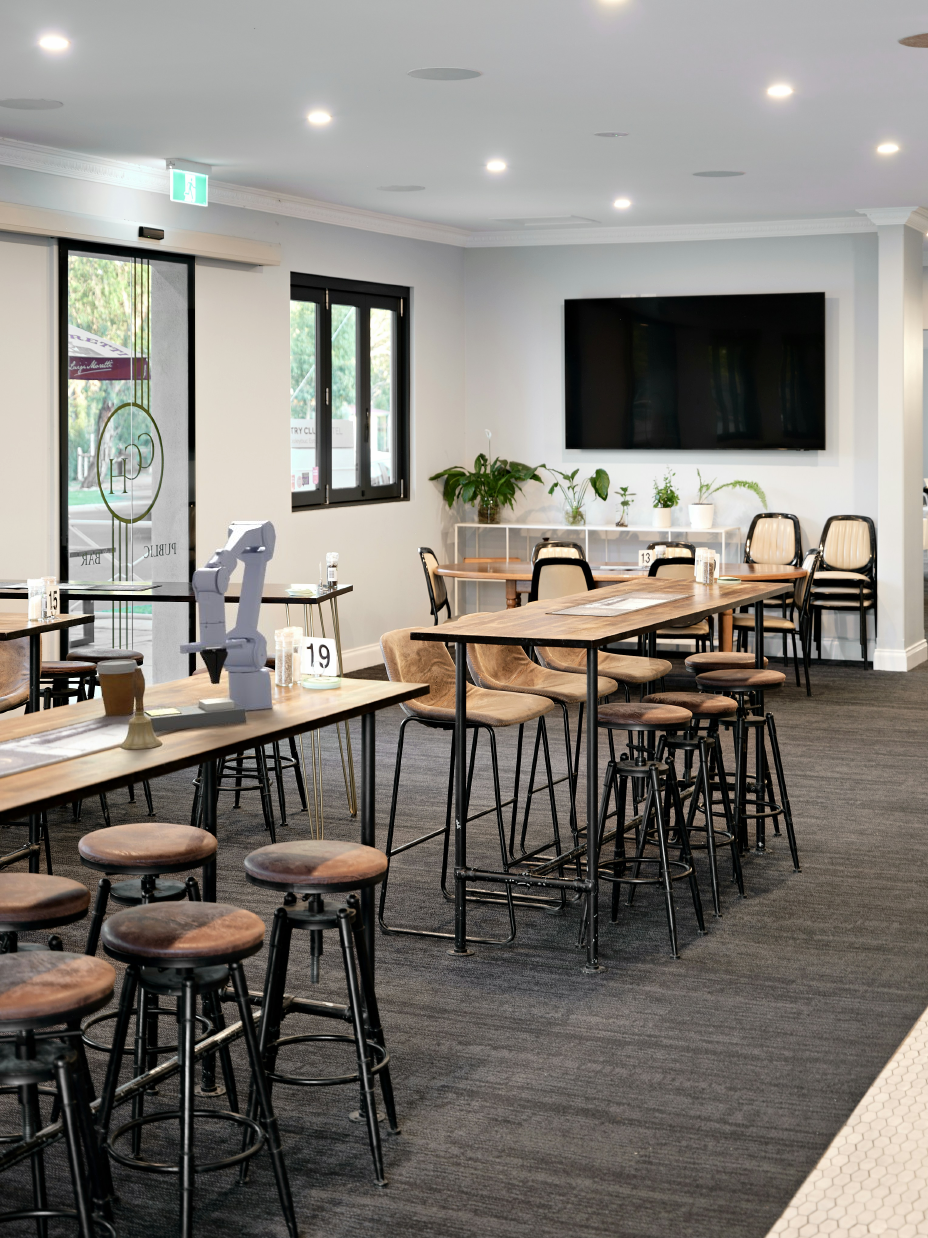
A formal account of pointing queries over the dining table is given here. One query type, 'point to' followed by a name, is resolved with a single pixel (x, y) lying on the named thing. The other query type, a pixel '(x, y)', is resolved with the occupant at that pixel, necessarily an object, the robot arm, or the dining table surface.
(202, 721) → the panel
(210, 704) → the white button
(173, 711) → the brass button
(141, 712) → the hand bell
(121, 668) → the disposable coffee cup
